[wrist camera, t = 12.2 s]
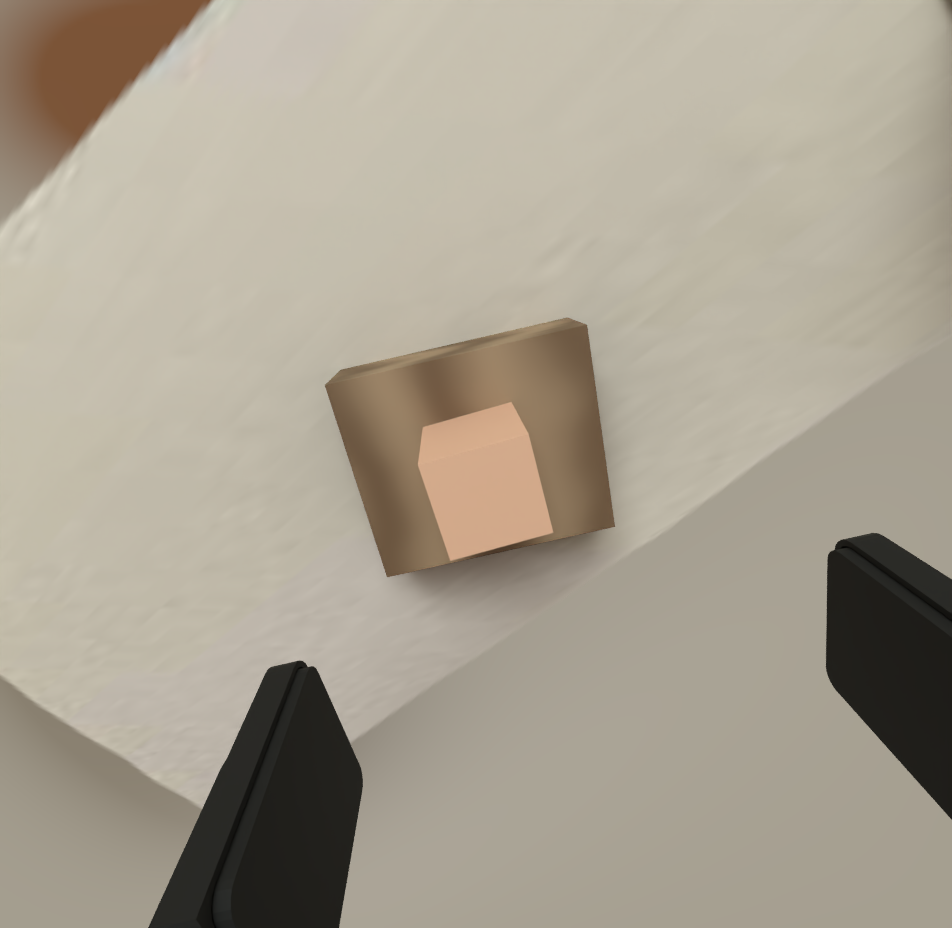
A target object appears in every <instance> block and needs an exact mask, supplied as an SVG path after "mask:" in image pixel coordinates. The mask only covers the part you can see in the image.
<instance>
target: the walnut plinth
mask: <svg viewBox="0 0 952 928" xmlns="http://www.w3.org/2000/svg"><path fill="white" fill-rule="evenodd" d="M325 387H326V390H327V393H328V396H329V399H330V402H331V405H332V408H333V412H334V415H335V418H336V421H337V424H338V427H339V430H340V433H341V436H342V439H343V442H344V445H345V449H346V452H347V455H348V458H349V461H350V464H351V467H352V470H353V473H354V476H355V479H356V482H357V486H358V489H359V492H360V495H361V498H362V501H363V504H364V507H365V510H366V513H367V516H368V519H369V523H370V526H371V529H372V532H373V535H374V538H375V541H376V544H377V547H378V550H379V553H380V556H381V560H382V563H383V566H384V569H385V572H386V575H387V577H390V576H395V575H399V574H404V573H408V572H413V571H417V570H422V569H426V568H431V567H435V566H440V565H444V564H449V563H453V562H458V561H462V560H467V559H471V558H476V557H480V556H485V555H489V554H494V553H499V552H503V551H508V550H512V549H517V548H521V547H526V546H530V545H535V544H539V543H544V542H548V541H553V540H557V539H562V538H566V537H571V536H575V535H580V534H584V533H589V532H593V531H598V530H602V529H607V528H611V527H615V524H614V517H613V510H612V503H611V496H610V488H609V481H608V474H607V467H606V459H605V452H604V445H603V438H602V430H601V423H600V416H599V409H598V402H597V394H596V387H595V380H594V373H593V365H592V358H591V351H590V344H589V337H588V329H587V325H586V324H583V323H580V322H578V321H575V320H572V319H569V318H564V319H560V320H555V321H551V322H547V323H542V324H538V325H534V326H529V327H525V328H520V329H516V330H512V331H507V332H503V333H499V334H494V335H490V336H486V337H481V338H477V339H473V340H468V341H464V342H460V343H455V344H451V345H447V346H442V347H438V348H434V349H429V350H425V351H421V352H416V353H412V354H408V355H403V356H399V357H395V358H390V359H386V360H382V361H377V362H373V363H369V364H364V365H360V366H356V367H351V368H347V369H343V370H340V371H339V372H338V373H337V374H336V375H335V376H334V377H333V378H332V379H331V380H330V381H329V382H328V383H327V384H326V385H325ZM509 402H512V404H513V406H514V408H515V410H516V411H517V413H518V415H519V417H520V419H521V421H522V423H523V424H524V426H525V428H526V430H527V432H528V434H529V438H530V442H531V446H532V450H533V454H534V457H535V461H536V465H537V469H538V473H539V477H540V481H541V485H542V489H543V493H544V497H545V501H546V505H547V509H548V513H549V517H550V521H551V525H552V529H553V533H550V534H547V535H543V536H540V537H536V538H532V539H529V540H525V541H521V542H518V543H514V544H510V545H507V546H503V547H499V548H496V549H492V550H489V551H485V552H481V553H478V554H474V555H470V556H467V557H463V558H459V559H456V560H452V561H450V558H449V556H448V553H447V550H446V547H445V544H444V541H443V538H442V535H441V532H440V529H439V526H438V523H437V520H436V517H435V514H434V511H433V508H432V505H431V502H430V499H429V496H428V494H427V491H426V488H425V485H424V482H423V479H422V476H421V473H420V470H419V467H418V461H419V453H420V445H421V437H422V429H423V427H425V426H429V425H432V424H436V423H439V422H443V421H446V420H450V419H453V418H457V417H460V416H464V415H467V414H471V413H474V412H478V411H481V410H485V409H488V408H492V407H495V406H499V405H502V404H506V403H509Z"/></svg>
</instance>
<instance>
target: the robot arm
mask: <svg viewBox="0 0 952 928" xmlns="http://www.w3.org/2000/svg"><path fill="white" fill-rule="evenodd" d="M826 640H827V641H826V669H827V674H828V677H829V679H830V682H831V683H832V685H833V687H834V688H835V689H836V691H837V692H838V693H839V694H840V695H841V696H842V697H843V698H844V699H845V701H846V702H847V703H848V704H849V705H850V706H851V707H852V708H853V710H854V711H855V712H856V713H857V714H858V715H859V716H860V717H861V719H862V720H863V721H864V722H865V723H866V724H867V725H868V726H869V728H870V729H871V730H872V731H873V732H874V733H875V734H876V735H877V736H878V738H879V739H880V740H881V741H882V742H883V743H884V744H885V745H886V747H887V748H888V749H889V750H890V751H891V752H892V753H893V754H894V756H896V758H897V759H898V760H899V761H900V762H901V763H902V764H903V766H904V767H905V768H906V769H907V770H908V771H909V772H910V773H911V774H912V775H913V777H914V778H915V779H916V780H917V781H918V782H919V783H920V785H921V786H922V787H923V788H924V789H925V790H926V791H927V792H928V794H929V795H930V796H931V797H932V798H933V799H934V800H935V801H936V802H937V804H938V805H939V806H940V807H941V808H942V809H943V810H944V811H945V812H946V814H947V815H948V816H949V817H950V818H951V819H952V579H950V578H948V577H947V576H945V575H944V574H942V573H941V572H939V571H938V570H936V569H934V568H933V567H931V566H930V565H928V564H927V563H925V562H923V561H922V560H920V559H919V558H917V557H916V556H914V555H913V554H911V553H909V552H908V551H906V550H905V549H903V548H901V547H900V546H898V545H897V544H895V543H894V542H892V541H890V540H889V539H887V538H886V537H884V536H882V535H880V534H877V533H871V534H866V535H862V536H857V537H853V538H848V539H843V540H840V541H839V542H837V544H836V546H835V550H834V551H831V552H830V553H829V555H828V569H827V639H826ZM362 787H363V779H362V772H361V768H360V765H359V763H358V760H357V758H356V756H355V754H354V752H353V749H352V747H351V745H350V742H349V740H348V738H347V736H346V733H345V731H344V729H343V727H342V725H341V722H340V720H339V718H338V716H337V713H336V711H335V709H334V707H333V704H332V702H331V700H330V698H329V695H328V693H327V691H326V689H325V686H324V684H323V682H322V680H321V678H320V675H319V673H318V671H317V669H316V668H315V667H312V666H311V667H307V665H306V663H304V662H303V661H296V662H291V663H287V664H282V665H278V666H273V667H271V668H269V669H268V670H267V672H266V674H265V676H264V678H263V680H262V682H261V685H260V687H259V689H258V691H257V693H256V696H255V698H254V700H253V702H252V704H251V707H250V709H249V711H248V713H247V715H246V718H245V720H244V722H243V724H242V727H241V729H240V731H239V733H238V735H237V738H236V740H235V742H234V744H233V746H232V749H231V751H230V753H229V755H228V757H227V760H226V761H225V763H224V764H223V766H222V768H221V769H220V772H219V774H218V776H217V778H216V780H215V783H214V785H213V787H212V789H211V791H210V794H209V796H208V798H207V800H206V802H205V804H204V807H203V809H202V811H201V813H200V816H199V818H198V820H197V822H196V824H195V826H194V829H193V831H192V833H191V835H190V837H189V840H188V842H187V844H186V847H185V848H184V851H183V853H182V855H181V857H180V859H179V862H178V864H177V866H176V868H175V870H174V873H173V875H172V877H171V879H170V881H169V884H168V886H167V888H166V890H165V893H164V895H163V897H162V899H161V901H160V903H159V905H158V908H157V910H156V912H155V914H154V917H153V919H152V921H151V923H150V925H149V927H148V928H339V924H340V918H341V911H342V905H343V900H344V894H345V888H346V883H347V877H348V871H349V865H350V859H351V853H352V847H353V842H354V836H355V830H356V823H357V818H358V812H359V806H360V800H361V794H362Z"/></svg>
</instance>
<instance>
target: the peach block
mask: <svg viewBox="0 0 952 928" xmlns="http://www.w3.org/2000/svg"><path fill="white" fill-rule="evenodd" d="M418 467H419V470H420V473H421V476H422V479H423V482H424V485H425V488H426V491H427V494H428V496H429V499H430V502H431V505H432V508H433V511H434V514H435V517H436V520H437V523H438V526H439V529H440V532H441V535H442V538H443V541H444V544H445V547H446V550H447V553H448V556H449V558H450V561H452V560H456V559H459V558H463V557H467V556H470V555H474V554H478V553H481V552H485V551H489V550H492V549H496V548H499V547H503V546H507V545H510V544H514V543H518V542H521V541H525V540H529V539H532V538H536V537H540V536H543V535H547V534H550V533H553V529H552V525H551V521H550V517H549V513H548V509H547V505H546V501H545V497H544V493H543V489H542V485H541V481H540V477H539V473H538V469H537V465H536V461H535V457H534V454H533V450H532V446H531V442H530V438H529V434H528V432H527V430H526V428H525V426H524V424H523V423H522V421H521V419H520V417H519V415H518V413H517V411H516V410H515V408H514V406H513V404H512V402H509V403H506V404H502V405H499V406H495V407H492V408H488V409H485V410H481V411H478V412H474V413H471V414H467V415H464V416H460V417H457V418H453V419H450V420H446V421H443V422H439V423H436V424H432V425H429V426H425V427H423V429H422V437H421V445H420V453H419V461H418Z"/></svg>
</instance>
